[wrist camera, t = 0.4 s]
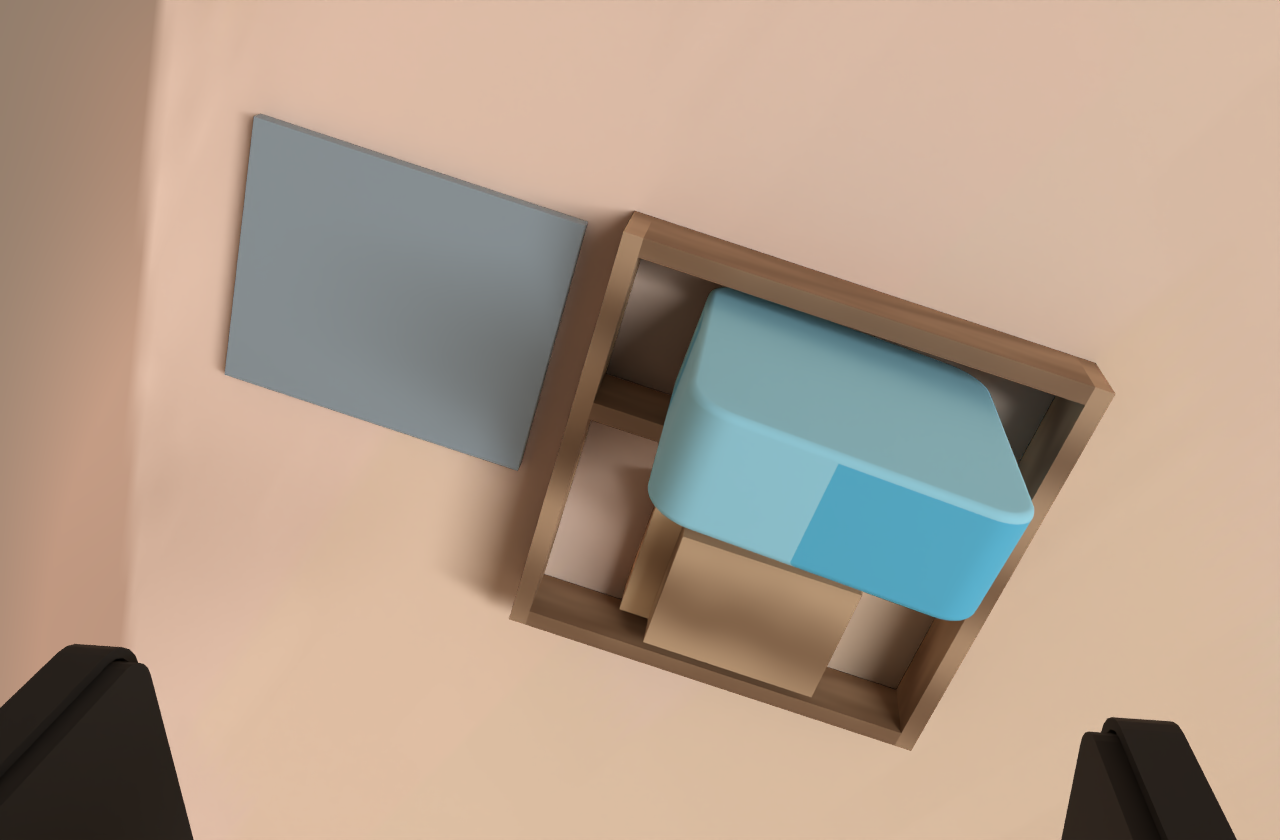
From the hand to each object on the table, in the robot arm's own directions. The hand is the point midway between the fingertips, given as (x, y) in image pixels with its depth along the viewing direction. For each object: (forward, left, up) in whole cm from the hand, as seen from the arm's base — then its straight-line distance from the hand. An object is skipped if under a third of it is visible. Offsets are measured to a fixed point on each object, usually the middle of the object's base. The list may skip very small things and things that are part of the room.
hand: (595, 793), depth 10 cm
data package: (+8, +6, -34) cm, 35 cm away
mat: (+11, -12, -33) cm, 37 cm away
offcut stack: (+19, +6, -34) cm, 39 cm away
